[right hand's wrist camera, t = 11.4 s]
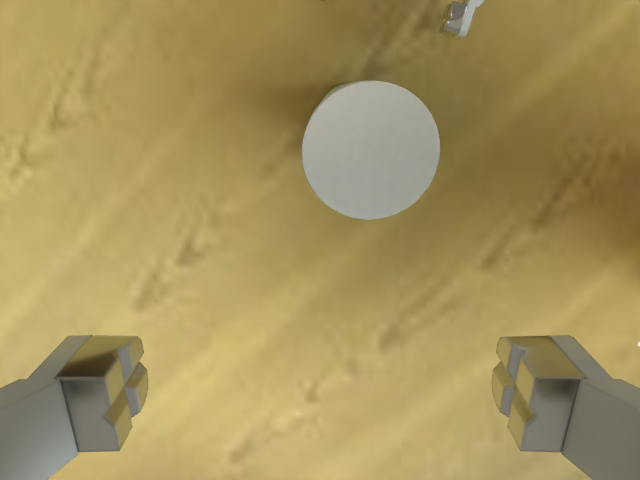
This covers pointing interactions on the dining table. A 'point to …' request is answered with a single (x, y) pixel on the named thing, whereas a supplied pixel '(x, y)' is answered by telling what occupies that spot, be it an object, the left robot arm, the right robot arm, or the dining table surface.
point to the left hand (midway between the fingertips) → (383, 16)
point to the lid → (370, 149)
